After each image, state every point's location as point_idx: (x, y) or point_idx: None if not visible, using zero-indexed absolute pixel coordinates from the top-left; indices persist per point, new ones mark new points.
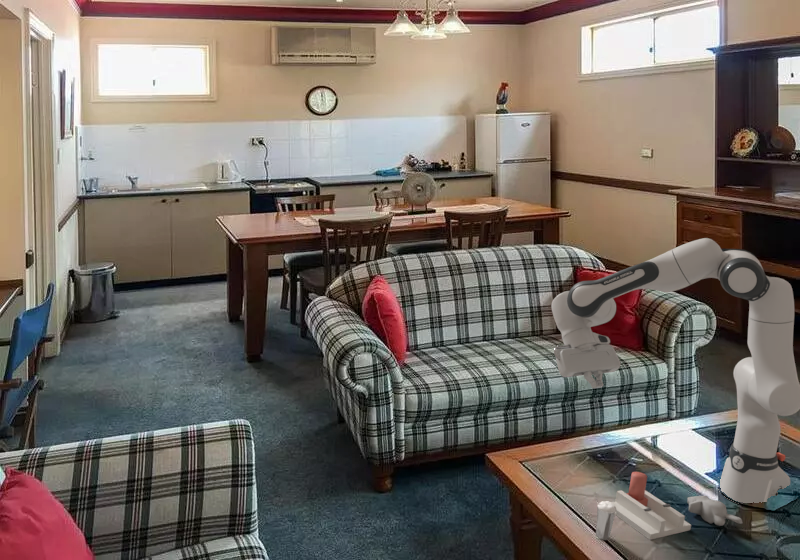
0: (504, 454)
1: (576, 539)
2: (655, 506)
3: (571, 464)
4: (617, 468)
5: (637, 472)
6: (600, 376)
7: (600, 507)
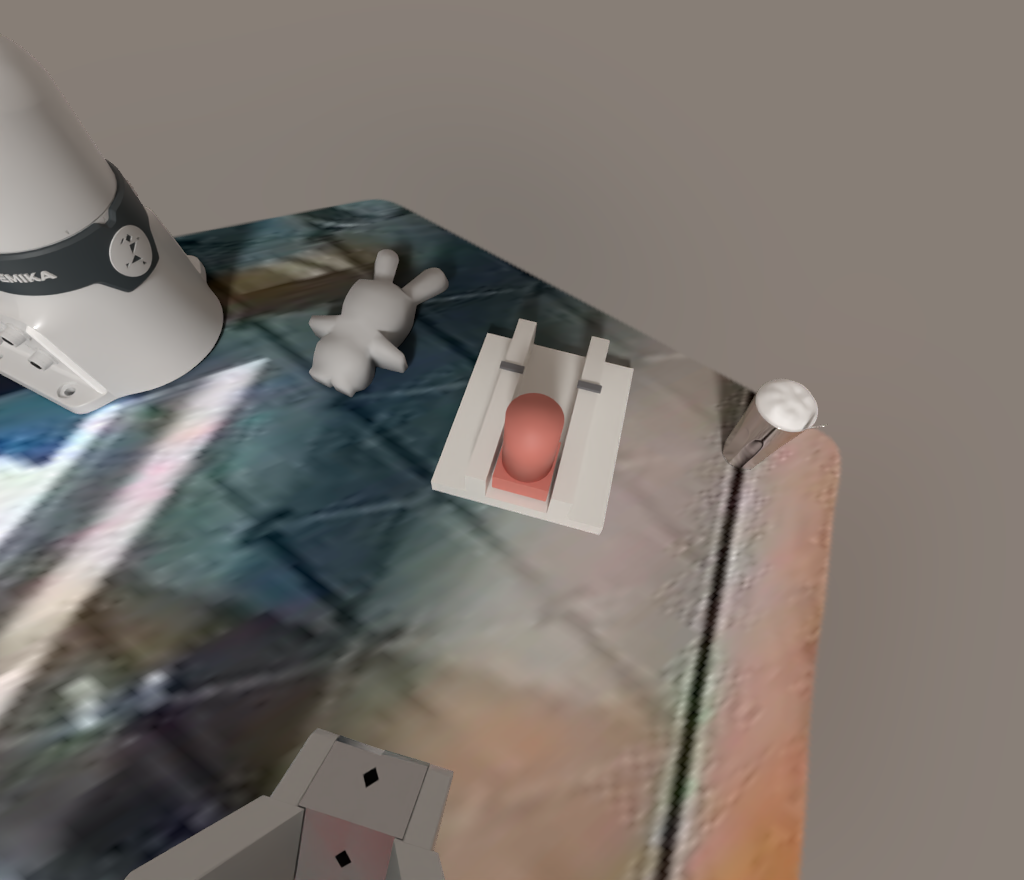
0: None
1: (822, 487)
2: None
3: None
4: (260, 698)
5: (520, 432)
6: (231, 851)
7: (817, 410)
